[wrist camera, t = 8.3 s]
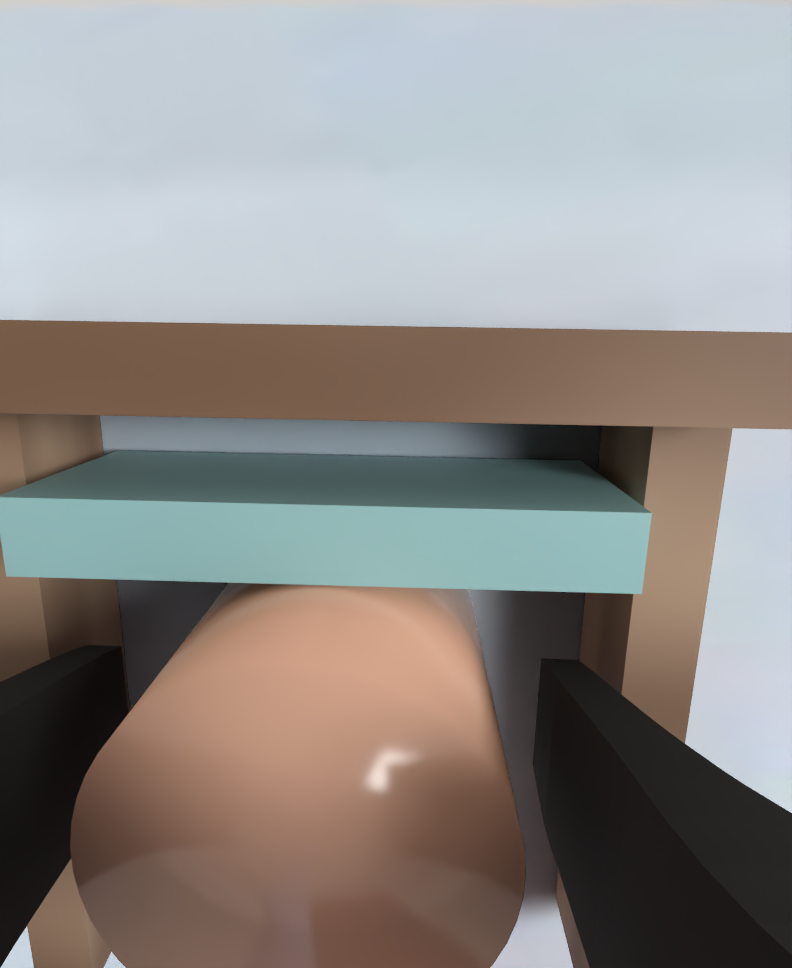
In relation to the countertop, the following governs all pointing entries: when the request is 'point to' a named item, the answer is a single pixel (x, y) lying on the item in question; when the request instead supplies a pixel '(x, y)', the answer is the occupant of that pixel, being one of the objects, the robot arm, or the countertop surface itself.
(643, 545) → the plate
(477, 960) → the tan rounded cylinder
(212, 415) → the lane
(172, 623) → the countertop surface
